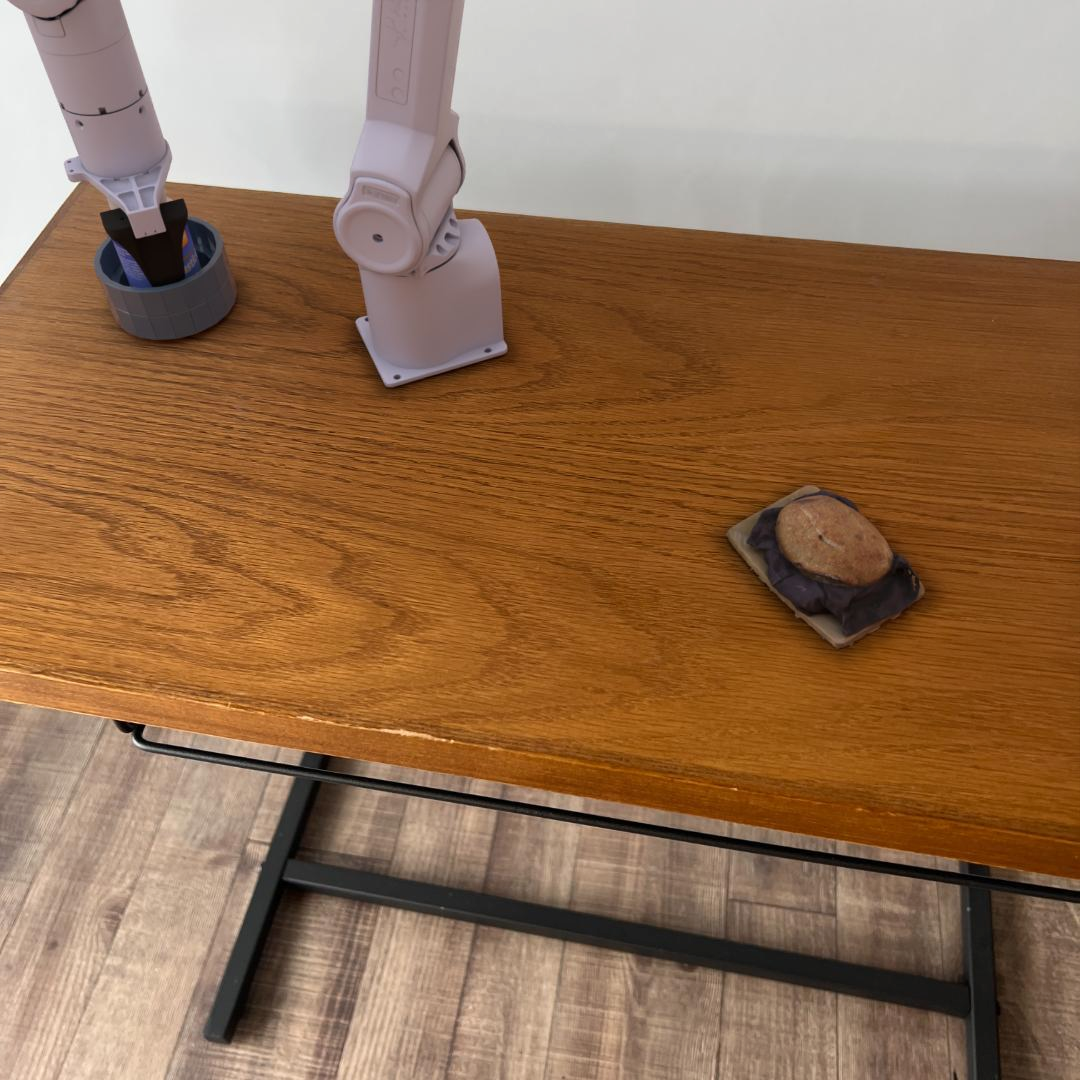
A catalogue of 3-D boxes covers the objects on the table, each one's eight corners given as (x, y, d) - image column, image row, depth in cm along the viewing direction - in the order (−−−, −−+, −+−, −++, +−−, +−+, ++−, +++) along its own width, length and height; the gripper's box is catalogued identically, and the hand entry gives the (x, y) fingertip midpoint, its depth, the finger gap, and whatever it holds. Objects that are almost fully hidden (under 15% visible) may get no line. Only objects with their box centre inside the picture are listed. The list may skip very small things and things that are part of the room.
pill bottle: (199, 319, 82) (161, 208, 74) (128, 318, 82) (84, 207, 74) (215, 274, 85) (181, 163, 78) (148, 274, 85) (107, 163, 78)
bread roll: (715, 540, 69) (722, 502, 66) (817, 485, 71) (827, 446, 68) (830, 658, 63) (842, 622, 60) (935, 593, 66) (952, 556, 63)
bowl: (223, 256, 88) (207, 202, 84) (250, 325, 83) (235, 271, 79) (106, 286, 86) (85, 232, 82) (126, 358, 80) (104, 305, 77)
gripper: (27, 55, 74) (94, 225, 85) (54, 163, 66) (125, 337, 76) (131, 34, 76) (184, 203, 86) (170, 137, 67) (224, 310, 78)
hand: (163, 264), depth 81 cm, fingers closed on pill bottle, 5 cm apart
